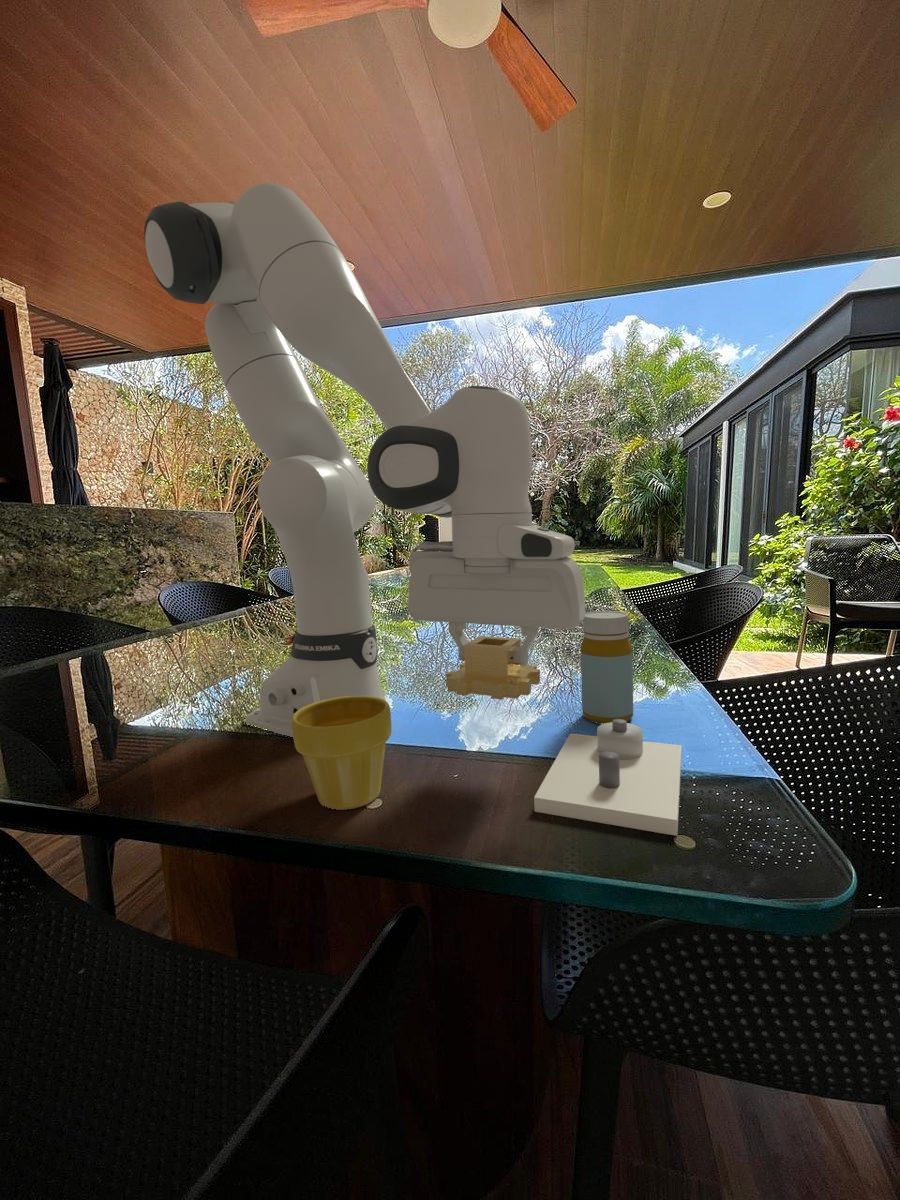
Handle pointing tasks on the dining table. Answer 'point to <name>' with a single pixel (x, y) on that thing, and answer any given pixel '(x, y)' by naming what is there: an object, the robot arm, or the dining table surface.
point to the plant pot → (344, 748)
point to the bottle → (606, 667)
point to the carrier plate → (619, 803)
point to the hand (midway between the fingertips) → (493, 662)
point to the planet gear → (492, 670)
